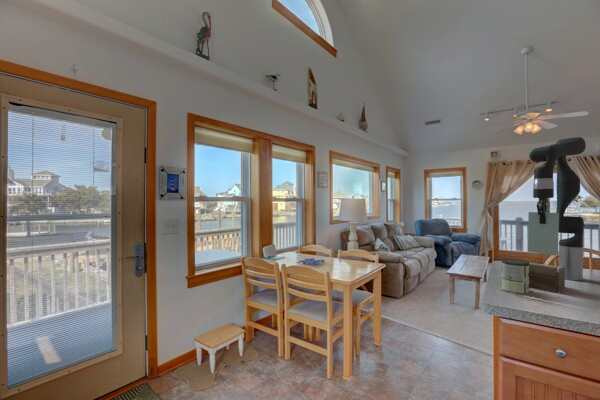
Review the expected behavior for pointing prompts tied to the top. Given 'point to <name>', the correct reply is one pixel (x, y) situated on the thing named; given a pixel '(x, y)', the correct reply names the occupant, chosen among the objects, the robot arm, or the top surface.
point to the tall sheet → (543, 234)
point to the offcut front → (542, 269)
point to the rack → (548, 281)
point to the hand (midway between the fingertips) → (543, 223)
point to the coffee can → (515, 276)
